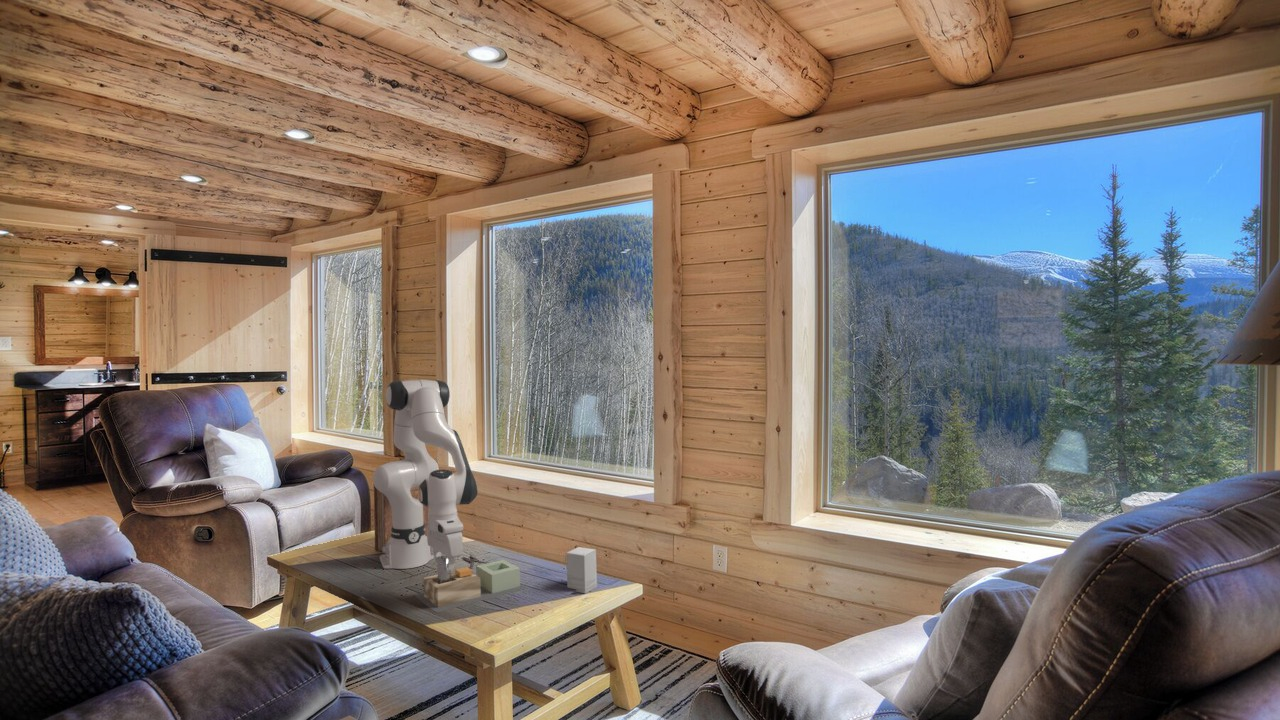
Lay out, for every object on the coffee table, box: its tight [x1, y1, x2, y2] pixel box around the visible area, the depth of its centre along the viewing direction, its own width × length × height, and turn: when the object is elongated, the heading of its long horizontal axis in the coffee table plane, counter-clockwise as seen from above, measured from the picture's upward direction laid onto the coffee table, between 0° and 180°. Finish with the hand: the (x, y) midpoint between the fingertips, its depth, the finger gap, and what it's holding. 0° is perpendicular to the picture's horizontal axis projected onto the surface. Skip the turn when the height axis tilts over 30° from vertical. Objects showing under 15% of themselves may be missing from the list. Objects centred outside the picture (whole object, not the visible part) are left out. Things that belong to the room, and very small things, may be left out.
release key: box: [454, 566, 473, 577], centre depth 219 cm, size 4×4×6 cm
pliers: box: [463, 555, 489, 570], centre depth 251 cm, size 10×1×20 cm
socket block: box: [423, 570, 481, 607], centre depth 217 cm, size 12×14×6 cm
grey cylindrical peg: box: [436, 555, 452, 584], centre depth 215 cm, size 4×4×12 cm
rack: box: [475, 559, 521, 593], centre depth 226 cm, size 12×10×6 cm
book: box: [373, 485, 429, 554], centre depth 276 cm, size 25×9×30 cm, turn 135°
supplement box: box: [565, 546, 598, 594], centre depth 224 cm, size 7×7×13 cm
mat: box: [414, 583, 529, 613], centre depth 221 cm, size 19×31×1 cm, turn 128°
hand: (444, 565), depth 215 cm, fingers open, 8 cm apart
